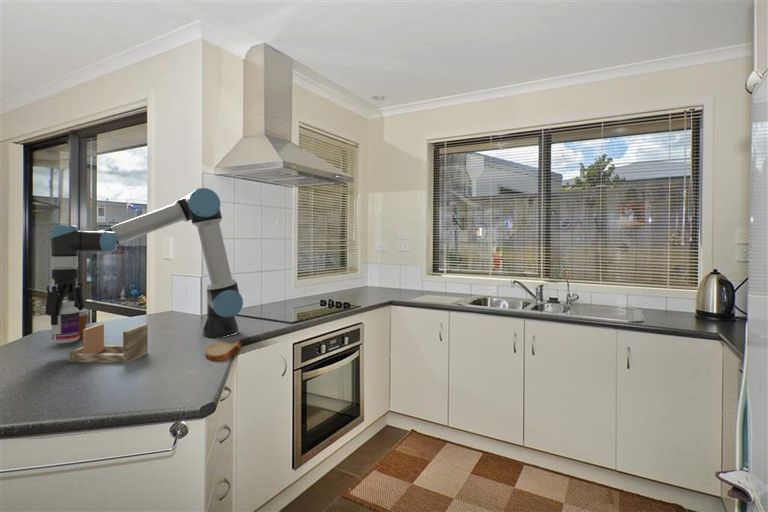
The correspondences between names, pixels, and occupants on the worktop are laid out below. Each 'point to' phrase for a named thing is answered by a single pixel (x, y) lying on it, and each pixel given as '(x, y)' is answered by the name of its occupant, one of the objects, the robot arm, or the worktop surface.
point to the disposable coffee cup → (82, 321)
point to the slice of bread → (222, 351)
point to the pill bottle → (68, 323)
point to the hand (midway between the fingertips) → (65, 331)
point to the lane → (118, 348)
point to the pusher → (93, 339)
